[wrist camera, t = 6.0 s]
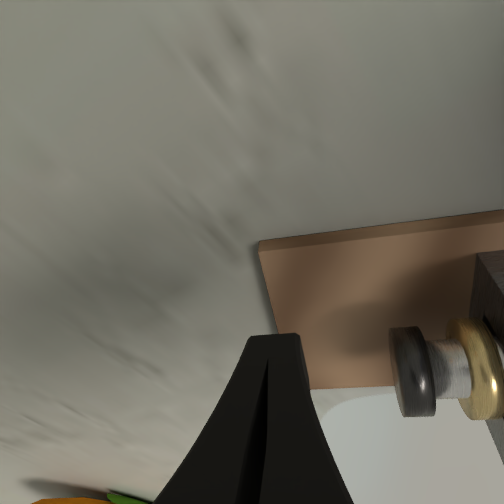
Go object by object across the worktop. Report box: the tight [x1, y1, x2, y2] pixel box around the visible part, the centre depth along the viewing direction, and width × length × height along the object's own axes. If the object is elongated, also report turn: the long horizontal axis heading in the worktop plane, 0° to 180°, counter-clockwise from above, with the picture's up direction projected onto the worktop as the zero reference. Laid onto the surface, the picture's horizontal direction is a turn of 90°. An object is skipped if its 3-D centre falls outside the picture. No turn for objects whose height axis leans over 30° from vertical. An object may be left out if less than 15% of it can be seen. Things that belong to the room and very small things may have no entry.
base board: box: [258, 210, 504, 390], centre depth 21 cm, size 16×11×1 cm, turn 102°
